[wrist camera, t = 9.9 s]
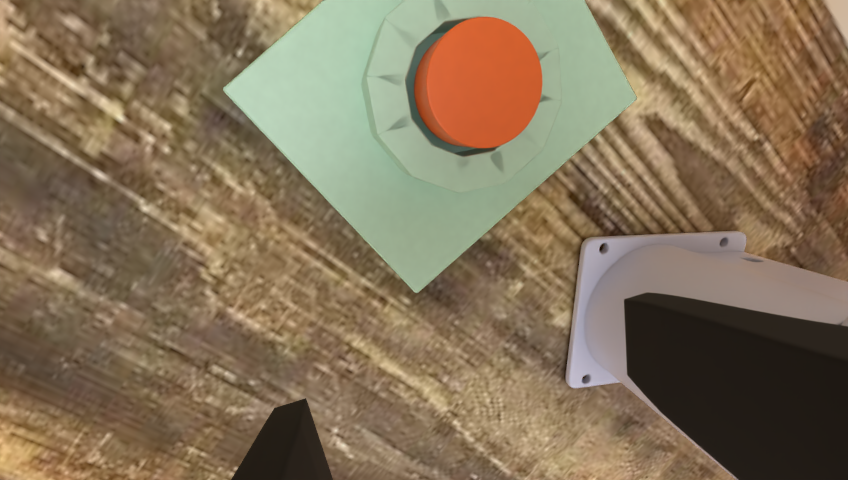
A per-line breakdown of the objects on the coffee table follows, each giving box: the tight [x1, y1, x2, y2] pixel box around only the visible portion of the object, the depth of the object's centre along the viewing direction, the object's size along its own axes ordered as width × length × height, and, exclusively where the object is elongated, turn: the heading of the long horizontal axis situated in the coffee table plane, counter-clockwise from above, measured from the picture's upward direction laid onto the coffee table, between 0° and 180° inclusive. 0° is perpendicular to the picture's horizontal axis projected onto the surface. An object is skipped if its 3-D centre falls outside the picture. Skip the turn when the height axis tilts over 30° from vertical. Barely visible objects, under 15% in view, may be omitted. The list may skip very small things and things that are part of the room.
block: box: [223, 0, 637, 293], centre depth 15 cm, size 12×10×4 cm
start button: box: [414, 17, 542, 148], centre depth 13 cm, size 4×4×2 cm
